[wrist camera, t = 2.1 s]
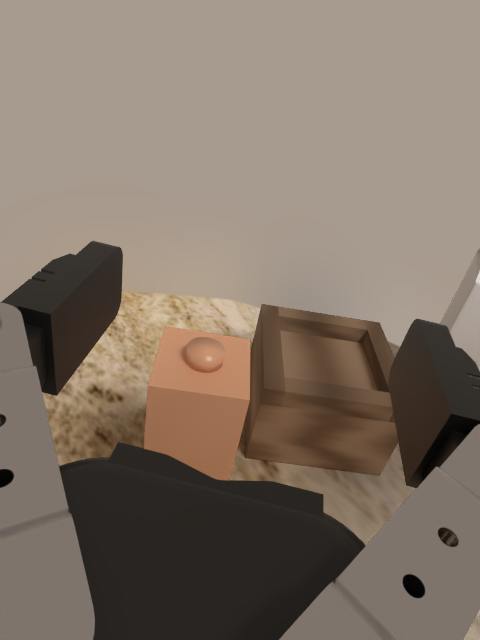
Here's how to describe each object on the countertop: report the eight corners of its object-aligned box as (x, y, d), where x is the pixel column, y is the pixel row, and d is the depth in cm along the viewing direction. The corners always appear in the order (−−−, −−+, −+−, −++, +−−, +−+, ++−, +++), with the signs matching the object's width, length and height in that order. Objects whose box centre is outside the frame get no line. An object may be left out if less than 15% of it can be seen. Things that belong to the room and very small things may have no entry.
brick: (218, 476, 33) (252, 328, 26) (213, 541, 29) (252, 388, 21) (151, 467, 33) (166, 314, 25) (137, 532, 29) (149, 373, 21)
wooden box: (354, 382, 45) (379, 322, 41) (379, 475, 36) (415, 410, 32) (247, 366, 44) (261, 304, 40) (245, 457, 35) (264, 388, 31)
